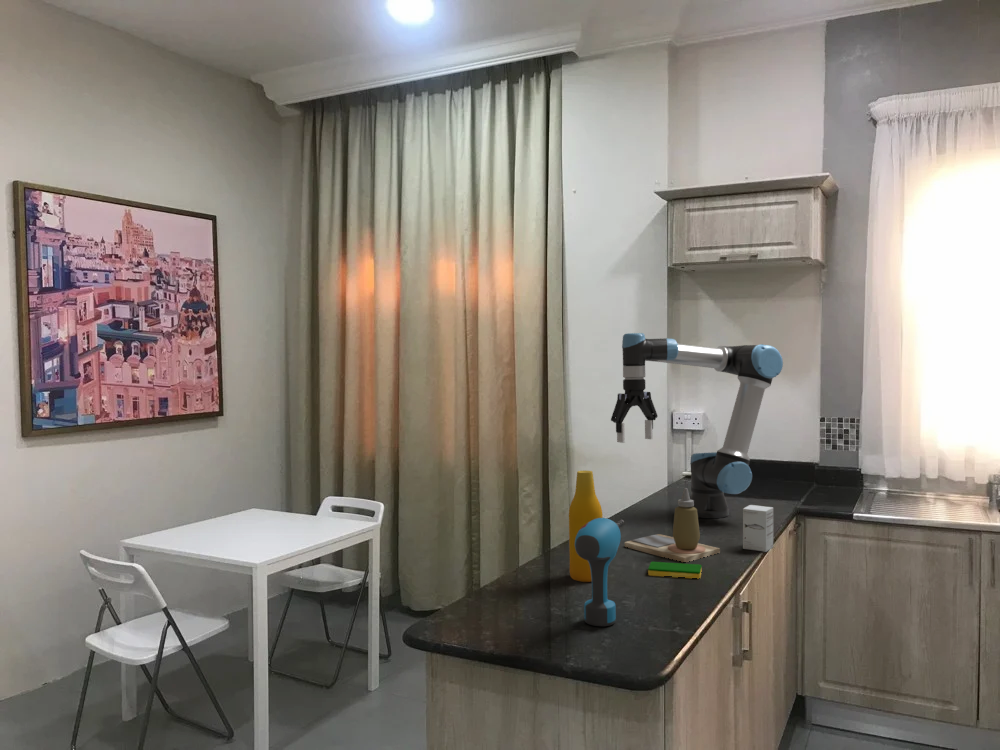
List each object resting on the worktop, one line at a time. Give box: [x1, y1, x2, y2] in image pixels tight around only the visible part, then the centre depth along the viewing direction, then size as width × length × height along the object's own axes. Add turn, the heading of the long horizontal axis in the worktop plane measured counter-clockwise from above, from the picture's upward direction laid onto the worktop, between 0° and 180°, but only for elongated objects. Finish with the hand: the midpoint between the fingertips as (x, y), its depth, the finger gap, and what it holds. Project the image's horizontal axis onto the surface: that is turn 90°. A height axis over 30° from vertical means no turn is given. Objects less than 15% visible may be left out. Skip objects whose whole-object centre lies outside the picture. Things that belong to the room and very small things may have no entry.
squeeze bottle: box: [672, 487, 701, 550], centre depth 229 cm, size 8×8×18 cm
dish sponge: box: [647, 561, 703, 580], centre depth 210 cm, size 7×14×2 cm, turn 72°
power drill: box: [575, 517, 625, 627], centre depth 178 cm, size 28×9×23 cm, turn 154°
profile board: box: [624, 533, 721, 563], centre depth 234 cm, size 16×24×2 cm, turn 36°
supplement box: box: [742, 504, 775, 553], centre depth 234 cm, size 7×7×13 cm
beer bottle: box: [568, 470, 604, 583], centre depth 208 cm, size 9×9×29 cm
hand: (635, 440), depth 260 cm, fingers open, 13 cm apart
